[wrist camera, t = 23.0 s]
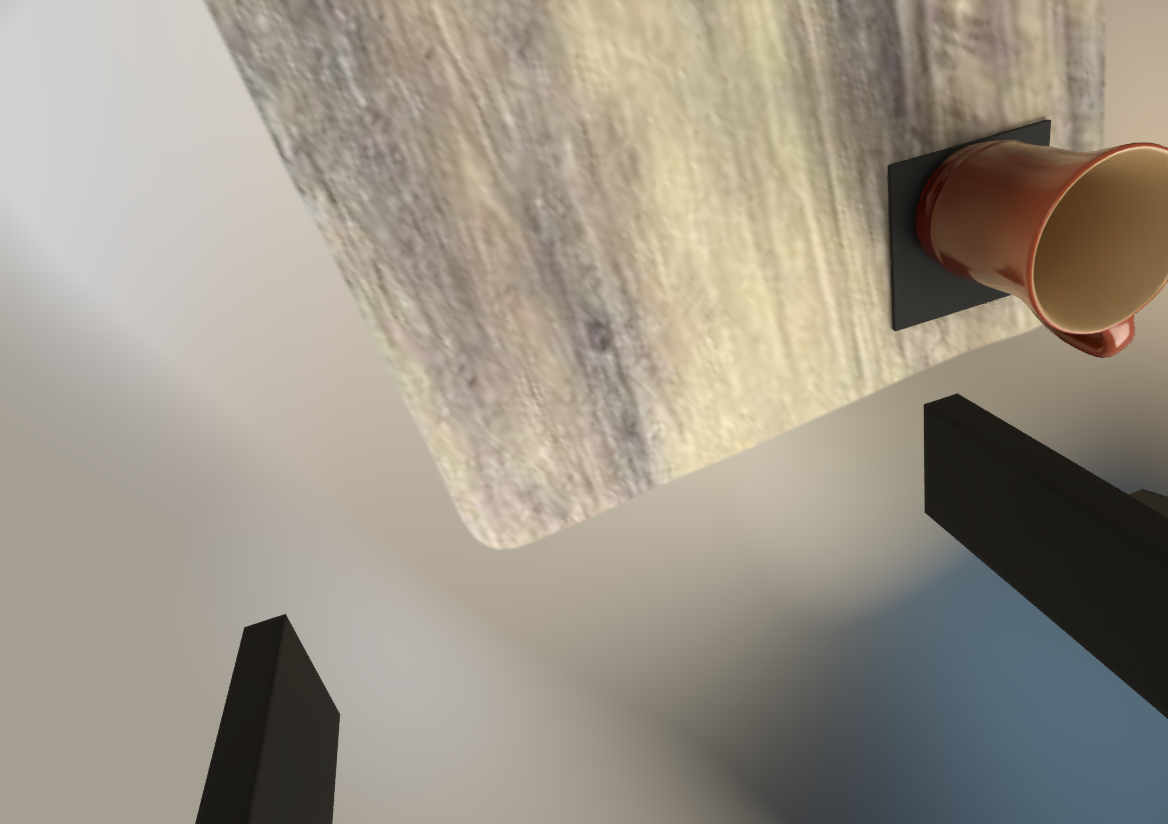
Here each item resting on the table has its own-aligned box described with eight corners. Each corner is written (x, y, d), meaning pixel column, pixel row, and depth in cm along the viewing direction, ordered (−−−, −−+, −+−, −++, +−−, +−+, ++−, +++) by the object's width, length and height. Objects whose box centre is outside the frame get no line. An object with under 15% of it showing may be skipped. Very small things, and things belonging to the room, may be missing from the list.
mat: (887, 165, 42) (891, 166, 41) (1047, 119, 43) (1051, 119, 43) (892, 329, 46) (895, 331, 46) (1036, 284, 47) (1040, 285, 47)
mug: (873, 184, 42) (1008, 219, 33) (1008, 90, 41) (1182, 100, 32) (938, 347, 47) (1068, 416, 38) (1057, 266, 47) (1217, 317, 38)
